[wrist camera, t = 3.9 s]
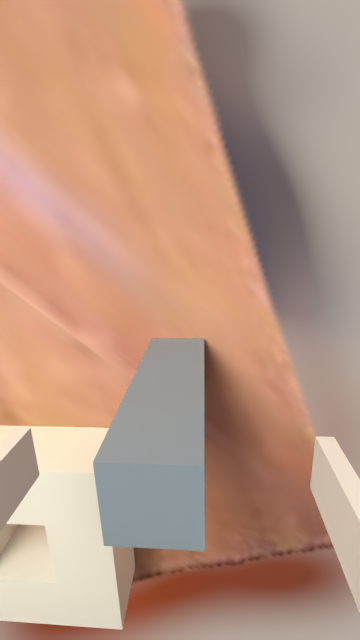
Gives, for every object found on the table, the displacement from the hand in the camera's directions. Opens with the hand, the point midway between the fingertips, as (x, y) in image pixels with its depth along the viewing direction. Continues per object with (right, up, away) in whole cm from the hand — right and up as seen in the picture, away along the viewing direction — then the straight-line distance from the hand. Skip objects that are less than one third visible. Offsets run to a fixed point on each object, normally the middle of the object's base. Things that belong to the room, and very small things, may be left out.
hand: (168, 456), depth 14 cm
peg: (0, +3, +10) cm, 10 cm away
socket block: (-12, -11, +15) cm, 22 cm away
